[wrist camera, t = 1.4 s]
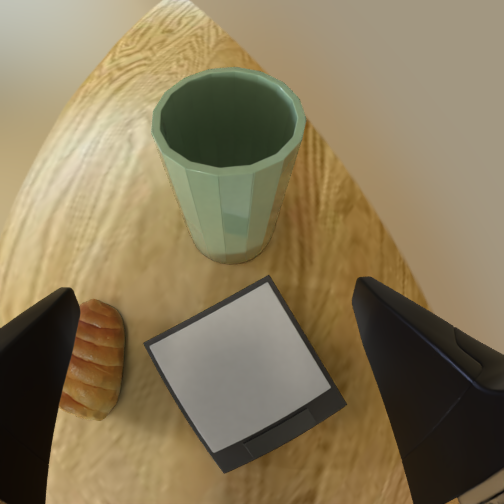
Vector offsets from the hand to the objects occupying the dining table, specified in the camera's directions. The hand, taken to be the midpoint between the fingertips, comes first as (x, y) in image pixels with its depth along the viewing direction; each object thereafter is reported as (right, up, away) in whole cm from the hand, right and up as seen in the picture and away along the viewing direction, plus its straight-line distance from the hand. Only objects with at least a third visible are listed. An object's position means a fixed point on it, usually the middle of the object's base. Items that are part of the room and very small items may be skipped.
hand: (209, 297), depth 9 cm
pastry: (-12, -8, +12) cm, 19 cm away
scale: (+1, -8, +12) cm, 15 cm away
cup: (0, +4, +16) cm, 16 cm away
